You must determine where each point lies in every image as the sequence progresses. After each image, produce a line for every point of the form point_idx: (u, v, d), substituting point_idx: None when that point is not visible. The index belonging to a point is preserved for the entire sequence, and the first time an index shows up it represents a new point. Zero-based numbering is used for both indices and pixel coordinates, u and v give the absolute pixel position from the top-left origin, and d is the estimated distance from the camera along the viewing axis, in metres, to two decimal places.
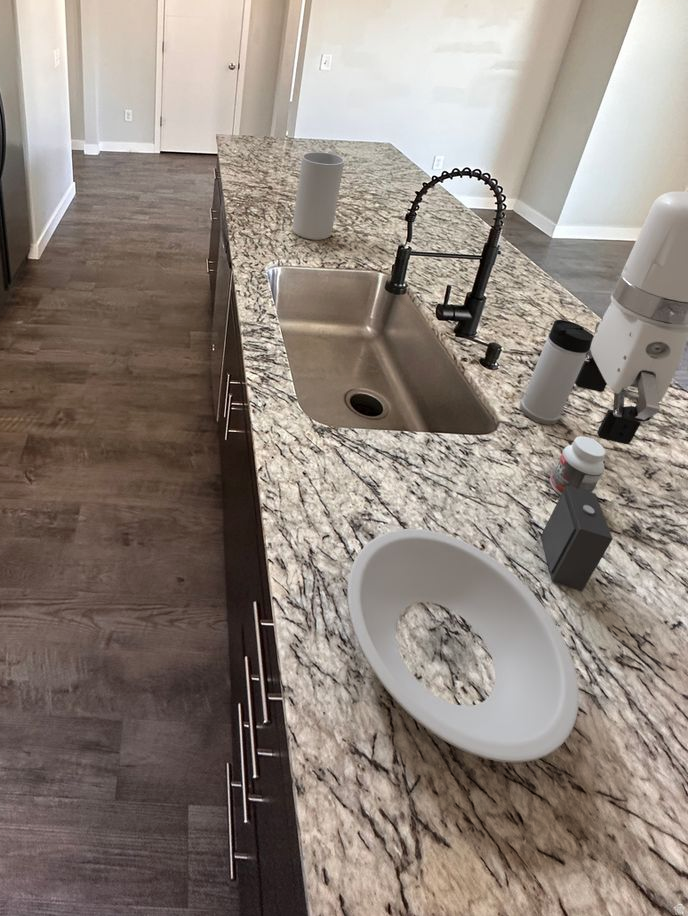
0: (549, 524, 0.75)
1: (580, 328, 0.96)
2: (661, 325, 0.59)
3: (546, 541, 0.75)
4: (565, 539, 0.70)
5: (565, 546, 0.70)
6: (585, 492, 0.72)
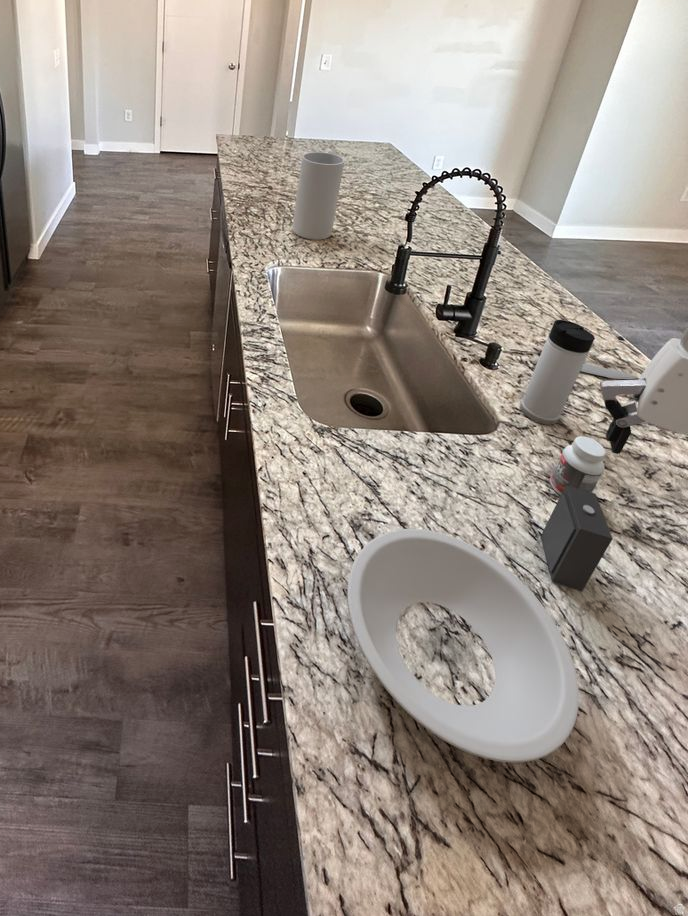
0: (549, 524, 0.75)
1: (580, 328, 0.96)
2: None
3: (546, 541, 0.75)
4: (565, 539, 0.70)
5: (565, 546, 0.70)
6: (585, 492, 0.72)
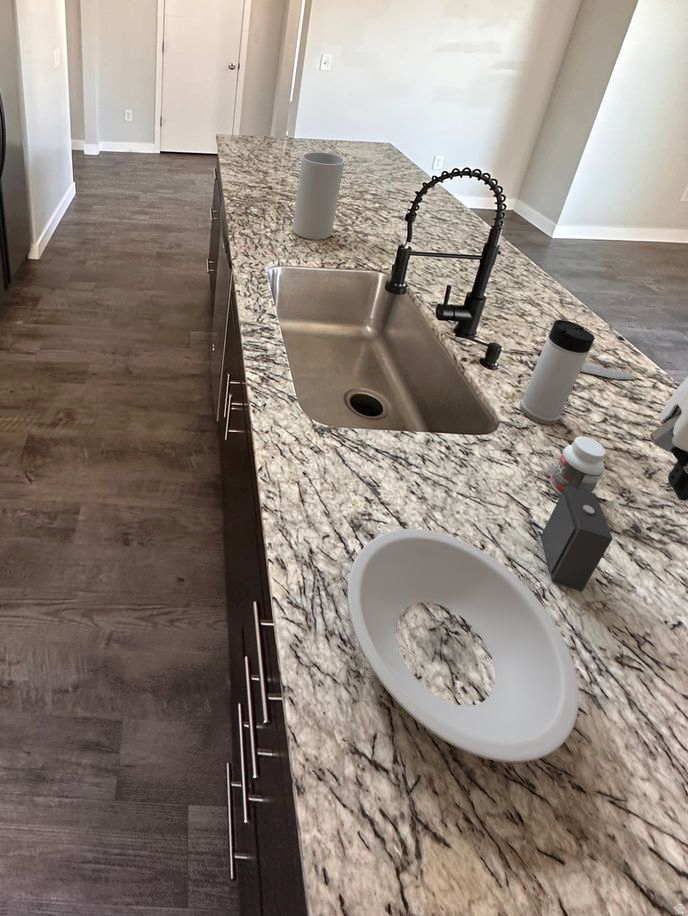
0: (549, 524, 0.75)
1: (580, 328, 0.96)
2: None
3: (546, 541, 0.75)
4: (565, 539, 0.70)
5: (565, 546, 0.70)
6: (585, 492, 0.72)
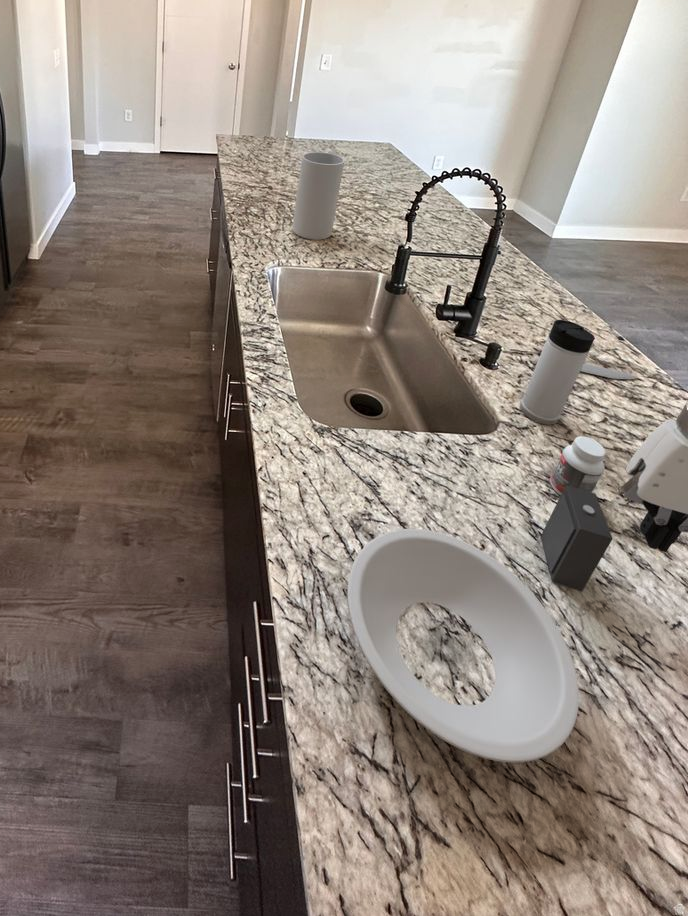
0: (549, 524, 0.75)
1: (580, 328, 0.96)
2: None
3: (546, 541, 0.75)
4: (565, 539, 0.70)
5: (565, 546, 0.70)
6: (585, 492, 0.72)
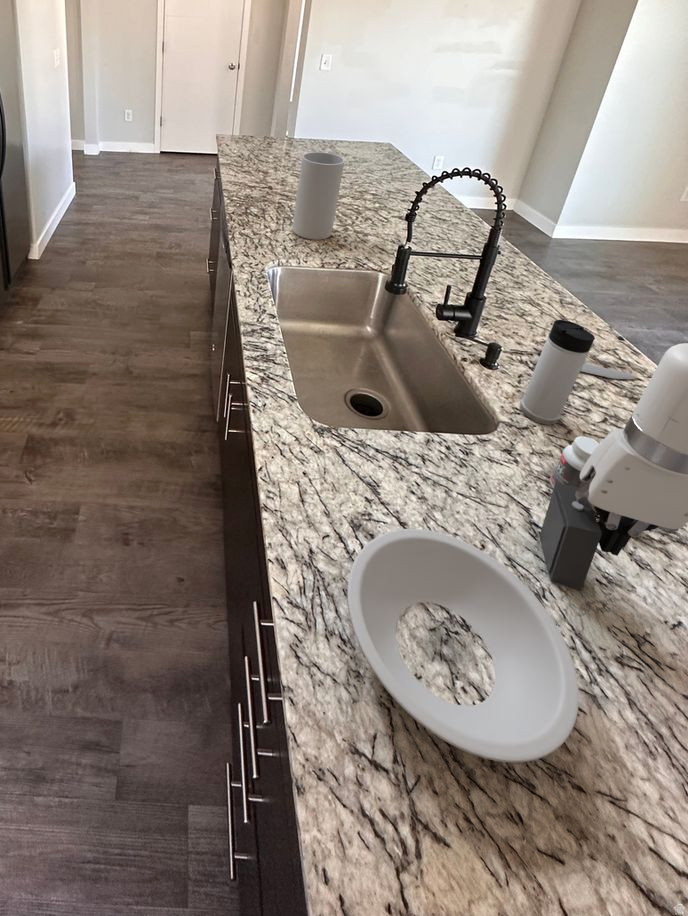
0: (545, 523, 0.76)
1: (580, 328, 0.96)
2: None
3: (543, 540, 0.75)
4: (557, 537, 0.70)
5: (559, 544, 0.70)
6: (575, 488, 0.73)
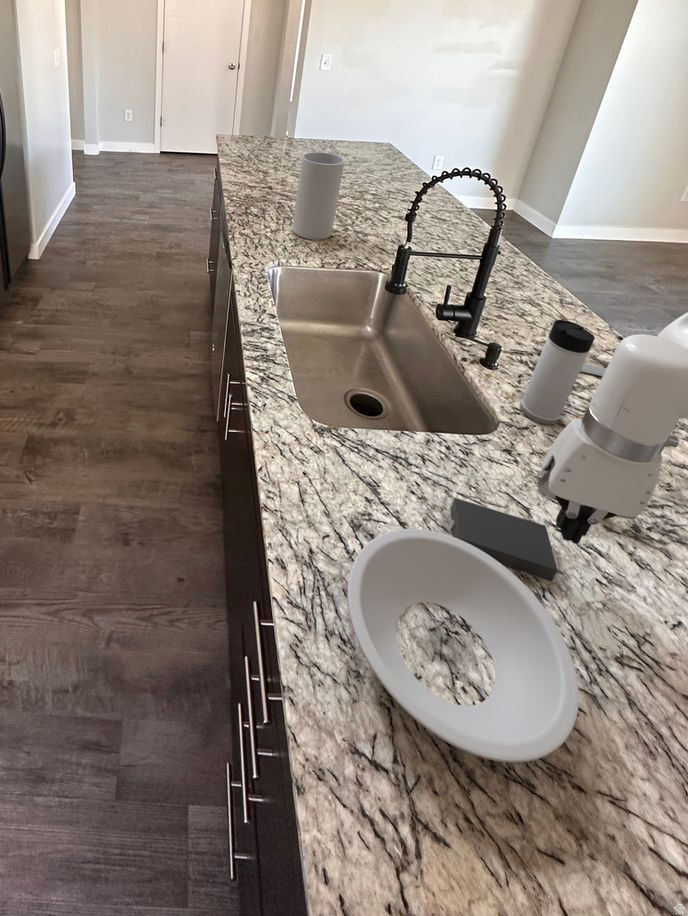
0: None
1: (580, 328, 0.96)
2: None
3: None
4: None
5: None
6: (452, 505, 0.81)
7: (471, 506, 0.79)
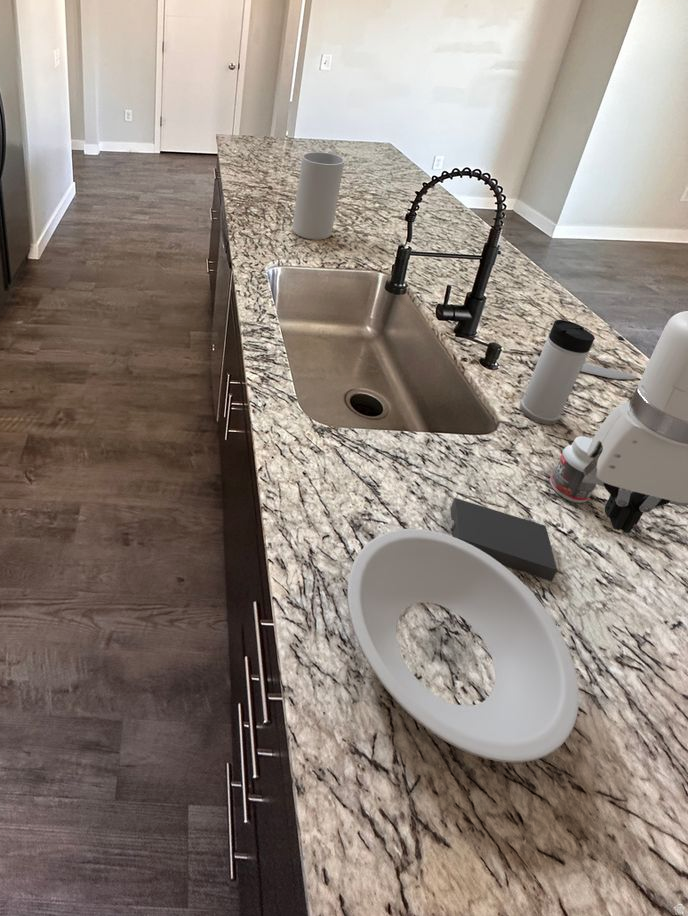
0: None
1: (580, 328, 0.96)
2: None
3: None
4: None
5: None
6: (452, 505, 0.81)
7: (471, 506, 0.79)
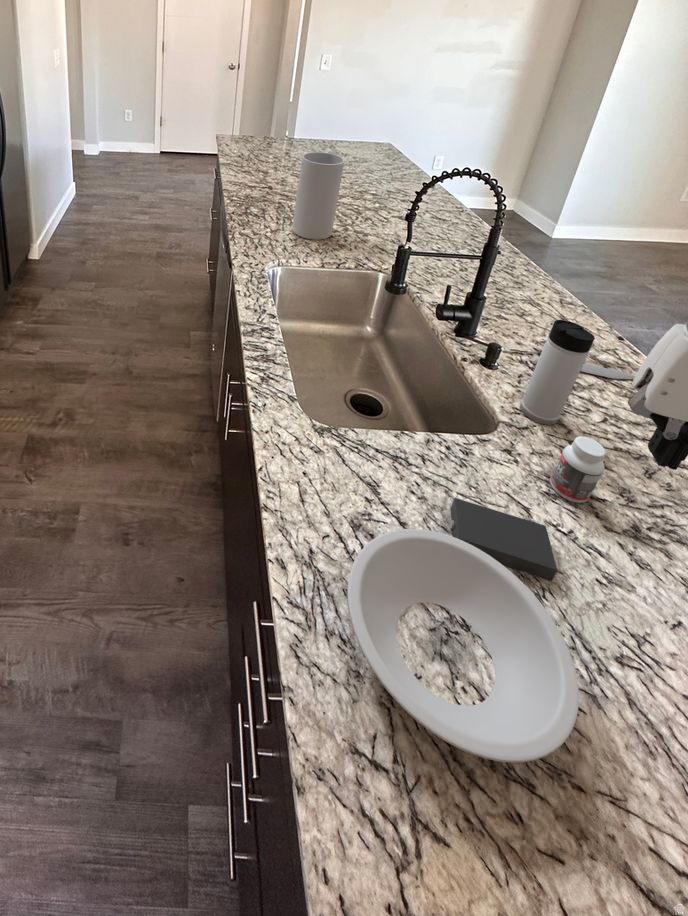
0: None
1: (580, 328, 0.96)
2: None
3: None
4: None
5: None
6: (452, 505, 0.81)
7: (471, 506, 0.79)
